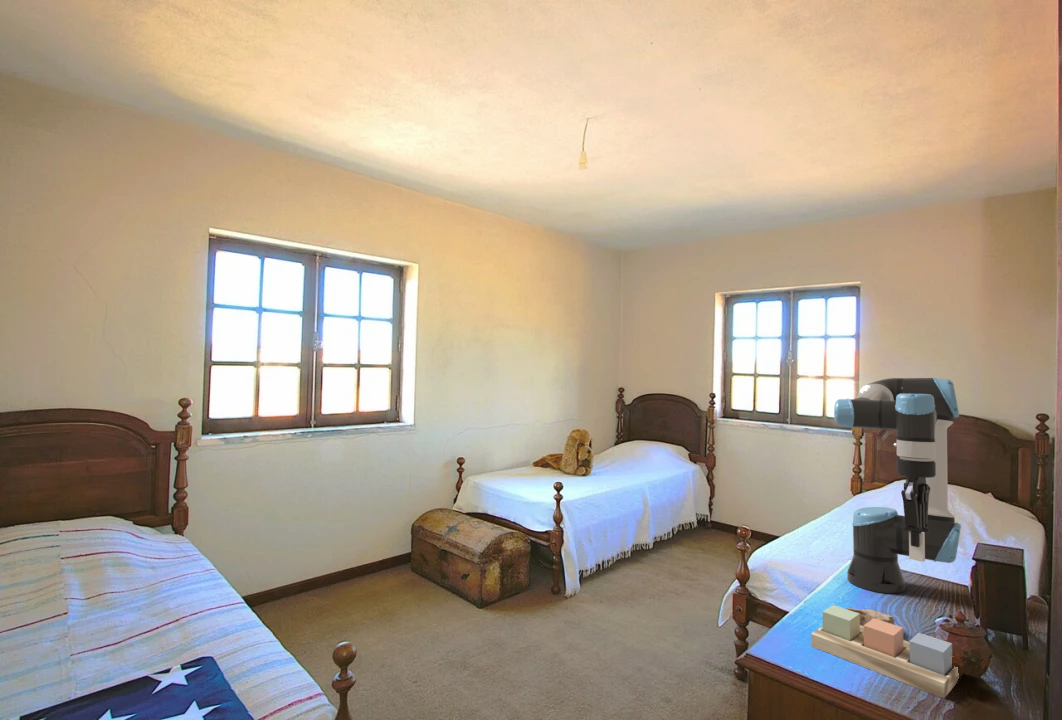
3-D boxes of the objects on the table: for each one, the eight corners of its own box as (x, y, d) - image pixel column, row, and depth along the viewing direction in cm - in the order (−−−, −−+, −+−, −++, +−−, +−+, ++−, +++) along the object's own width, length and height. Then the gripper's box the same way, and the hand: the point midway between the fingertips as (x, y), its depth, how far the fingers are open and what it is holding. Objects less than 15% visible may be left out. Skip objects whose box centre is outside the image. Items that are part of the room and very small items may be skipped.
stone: (885, 641, 131) (884, 620, 131) (838, 622, 141) (838, 603, 141) (904, 633, 135) (904, 613, 135) (858, 615, 145) (858, 596, 145)
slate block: (919, 655, 119) (918, 632, 119) (952, 666, 114) (952, 643, 114) (909, 664, 115) (909, 641, 115) (943, 676, 111) (943, 652, 111)
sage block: (833, 625, 133) (833, 605, 133) (859, 634, 128) (859, 613, 129) (822, 632, 130) (822, 611, 130) (849, 642, 125) (849, 620, 125)
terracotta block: (873, 639, 126) (873, 618, 126) (903, 649, 121) (903, 627, 122) (863, 647, 122) (863, 625, 123) (894, 658, 118) (893, 635, 118)
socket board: (836, 629, 136) (836, 617, 136) (963, 674, 116) (963, 660, 116) (811, 646, 128) (811, 633, 128) (944, 698, 107) (943, 683, 107)
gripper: (905, 454, 133) (907, 550, 132) (887, 458, 125) (889, 560, 124) (942, 458, 127) (944, 558, 126) (926, 463, 119) (928, 570, 118)
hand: (917, 559), depth 125 cm, fingers closed
